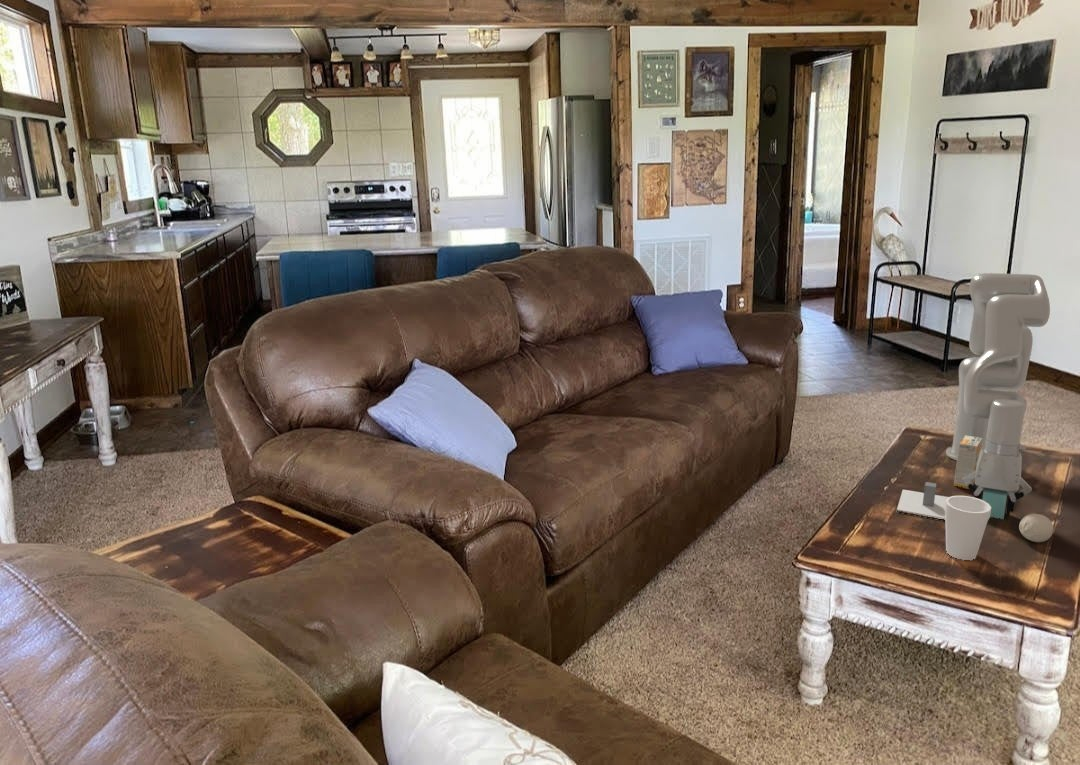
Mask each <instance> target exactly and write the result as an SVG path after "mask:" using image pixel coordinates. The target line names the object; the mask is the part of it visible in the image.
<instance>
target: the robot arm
mask: <svg viewBox="0 0 1080 765" xmlns="http://www.w3.org/2000/svg"><path fill="white" fill-rule="evenodd" d="M969 295H970V298H971V301H972V305H973V314H972V321H971V327H970V333H969V340H968V341H969V344H968V347H969V350H970V351H971V353H973V354H975V355H978V356H972V357H967V358H964V359H963V360H961V362H960V364H959V366H958V399H957V400H958V401H957V409H956V416H955V424H954V431H953V432H954V433H953V439H952V446H949V447H947V449H946V450H945V454H946V456H947V457H948V458H950V459H952V460H954V461H956V462H957V457H958V449H959V443H960V442H961V440H962V439H963V437H964V436H965V435H966V436H973V437H979V438H982V444H981V451H980V454H979V457H978V461H977V466H976V470H975V471H973V472H971V473H970V474H968V475H966V476H964V477H963V479H962V481H963V482H964V483H965V484H966V485H967V486H968V488H969V489H968V490H970V492H972V493H973V495H974V496H973V497H974V498H977V499H981V498H982V496H981V495H982V493H981V492H983V491H984V488H989V489H995V490H1001V491H1007V495H1009V497H1008V498H1007V502H1006V508H1005V510H1006V512H1005V513H1006V514H1005V515H1006V516H1007V517H1009V516H1010V514H1011V513H1014V508H1015V502H1017V501H1018V500H1020V499H1021V498H1023V497H1024V496H1026V495H1029V493H1031V492H1032V491H1033V490H1032V487H1031V485H1030V484H1028V482H1027V481H1025V480H1024V478H1022V468H1023V467H1022V466H1023V464H1022V463H1023V462H1022V461H1023V456H1022V453H1021V452H1023V451H1024V452H1026V450H1027V445H1023V444H1021V438H1022V433H1023V425H1024V419H1025V414H1026V411H1027V399H1026V398H1025V396H1024V395H1023V394H1022V393H1020V392H1018V391H1019V390H1021V389H1023V387H1024V385H1025V382H1026V379H1027V374H1028V369H1029V364H1030V360H1031V355H1032V349H1033V343H1034V342H1033V333H1032V330H1031V329H1030V328H1029V327H1031V328H1041V327H1044V326H1045V325H1046V324H1047V323H1048V322H1049V319H1050V314H1051V306H1050V304H1051V303H1050V299H1049V294H1048V291H1047V288H1046V285H1045V282H1044V280H1043V278H1042V277H1041V276H1039V275H1036V274H1029V273H1027V274H1026V273H1024V274H1022V273H996V272H995V273H994V272H993V273H987V272H985V273H979V274H975V275H974V276H972V277H971V279H970V283H969ZM973 478H975V482H974V484H973V483H972V482H971V481H970V480H971V479H973ZM1020 486H1021V487H1022V489H1021V490H1019V489H1020Z"/></svg>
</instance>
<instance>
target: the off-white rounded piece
mask: <svg viewBox="0 0 1080 765" xmlns="http://www.w3.org/2000/svg"><path fill="white" fill-rule="evenodd" d="M1018 529H1019V531H1020V534H1021V535H1022V536H1023V537H1024V538H1025V539H1027V540H1028V541H1031V542H1035V543H1044V542H1046V541H1048V540H1049V539H1050V538H1051V537H1052V535H1053V533H1054V526H1053V523H1052V521H1051V520H1050V519H1049V518H1048V517H1047V516H1045V515H1044V514H1040V513H1029V514H1027V515H1025V516H1023V518H1021V520H1020V522H1019V526H1018Z"/></svg>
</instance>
